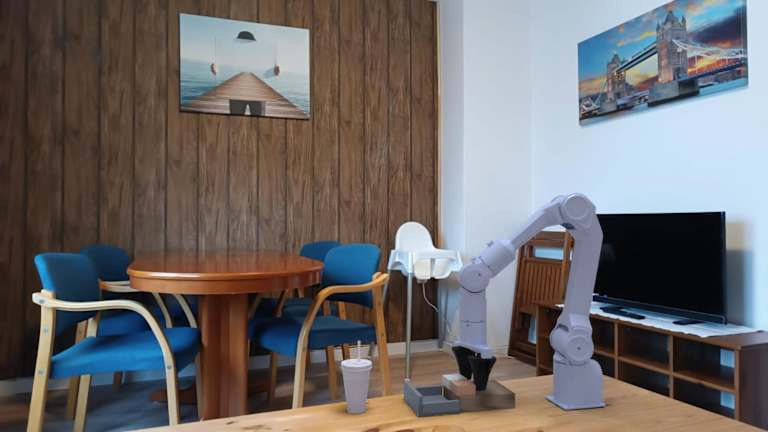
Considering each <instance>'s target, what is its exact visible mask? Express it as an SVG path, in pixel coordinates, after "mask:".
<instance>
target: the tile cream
mask: <svg viewBox="0 0 768 432" xmlns="http://www.w3.org/2000/svg"><path fill="white" fill-rule="evenodd" d="M450 380H467V379H466V378H465V377H464V376H462V375H461V374H460V373H452V374H442V383H441V385H442V386H443V385H444V386H445V387H446V388H448V389H449V390H450Z"/></svg>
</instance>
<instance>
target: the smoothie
mask: <svg viewBox="0 0 768 432" xmlns="http://www.w3.org/2000/svg"><path fill="white" fill-rule="evenodd" d="M372 368H373V363H372V361H371V360H369V359H364V358H361V340H357V358H350V359H344V360H342V361H341V363H340V369H341V370H342V379H343V385H344V393H345V395H344V396H345V404H346V411H347V413H348V414H353V415H357V414H363V413H366V409H367V408H366V407H367V399H368V391H369V383H370V377H371V369H372Z"/></svg>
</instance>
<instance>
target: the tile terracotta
mask: <svg viewBox="0 0 768 432" xmlns="http://www.w3.org/2000/svg"><path fill="white" fill-rule="evenodd" d="M471 381H472V380H450V390H451V391H452V392H453V393H454V394H455V395H456V396H466V395H475V388H476V385H474V384H473V383H472V382H471Z"/></svg>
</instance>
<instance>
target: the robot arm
mask: <svg viewBox="0 0 768 432" xmlns="http://www.w3.org/2000/svg"><path fill="white" fill-rule="evenodd" d="M596 211H597V206H596V205H595V204H594V203H593V202H592V201H591V200H590V199H589V198H588V197H587V196H586V195H585V194H582V193H581V192H572V193H569V194H565V195H564V194H563V195H557V196H555V197H553V198H552V199H551V201H549V202H546V203H545V204H544V205H542V206H541V207H539V208H538V209H537V210H536V211H535V212H534V213H533V214H531V215H530V217H528V218H527V219H526V220H525V221H524V222H523V223H522V224H521V225H520V226H518V227H517V228H516V229H515V230H514V231H513V232H512V233H511V234H510V235H509V236H508V237H506V239H505V238H496V239H495V240H489V241H488V242H487V243H486V245H487V246H486V248H484V250H482V251H481V252H479V254H478V255H476V256H474V255H473V256H472V257H470V259H469V260H470V261H471V262H469V263H466V264H464V265H462V266H461V267H460V269H459V271H458V274H457V276H456V279H457V282H458V284H459V286H460V287H459V301H458V303H459V307H458V308H459V314H458V315H459V319H458V320H459V323H458V324H459V327H458V328H459V329H458V331H459V334H456V335H455V339H456V340H454V341H453V346H451V351H452V352H453V354H454V356H455V360H456V363H457V367H458V371H459V374H461V375H462V376H464V377H465V378H466V379H467V380H470V381H474V385H476V388H475V390H476V391H484V390H486V387H487V383H488V380H490V379H489V378H490V374H491V373H492V372H491V371H492V370H493V367H494V366H495V364H496V363H497V357H496V356H495V355H493V347H490V345H489V342H488V340H487V339H488V335H487V333H488V332H487V322H488V321H487V317H488V316H487V313H488V312H487V310H488V309H487V288H488V286H489V284H490V282H491V281H490V280H491V279H494V278H496V276H497V275H499V274H500V273H501V272H502V271H503V270H504V269H505V268H507V267H508V266H509V265H510V264H511V263H513V262H514V261H515V260H516V255H517V251H518V250H519V249H520V248H521V247H522V246H524V245H525V244H526V243H527V242H529V241H530V240H531V239H533V238H534V237H535V236H537V235H538V234H539V233H541V232H542V230H545V229H546V228H548V227H552V226H558V225H560V226H561V227H562V228H564V229H566V231H567V232H568V233H569V235H570V236H571V237H572V238H573V239H574V240H575V242H574V247H573V252H572V258H571V265H570V269H569V276H568V281H567V285H566V286H567V287H566V292H565V298H564V304H563V309H562V312H561V314H560V315H559V316H558V318H557V319H556V320H557V321H556V325H555V327H554V328H553V330H552V331H551V332H550V335H549V343H550V346H551V348H552V349H553V350H554V355H553V357H552V358H553V359H552V361H553V363H552V368H553V369H552V371H553V375H552V376H553V377H552V378H553V394H552V395H551V394H549V395H545V396H544V398H545V399H546V400H547V401H550V403H551V402H552V403H553V404H555V405H557V406H558V407H559V408H561V409H563V410H566V411H567V410H568V411H569V410H581V409H591V408H601V407H606V403H605V402H604V385H603V384H604V376H603V371H602V368H601V367H602V366H601V365H600V364H599V362H598V361H596V360H595V359H591V358H592V357H593V355H594V349H595V348H594V347H595V346H594V343H593V338H592V334H593V327H592V325H591V322H590V312H591V307H592V306H591V305H592V302H593V301H592V300H593V297H594V296H593V295H594V289H595V284H596V278H597V272H598V268H599V261H600V256H601V251H602V250H601V249H602V243H603V238H604V234H603V231H602V227H601V225H600V221H599V218H598V216H597V212H596ZM472 379H473V380H472Z"/></svg>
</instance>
